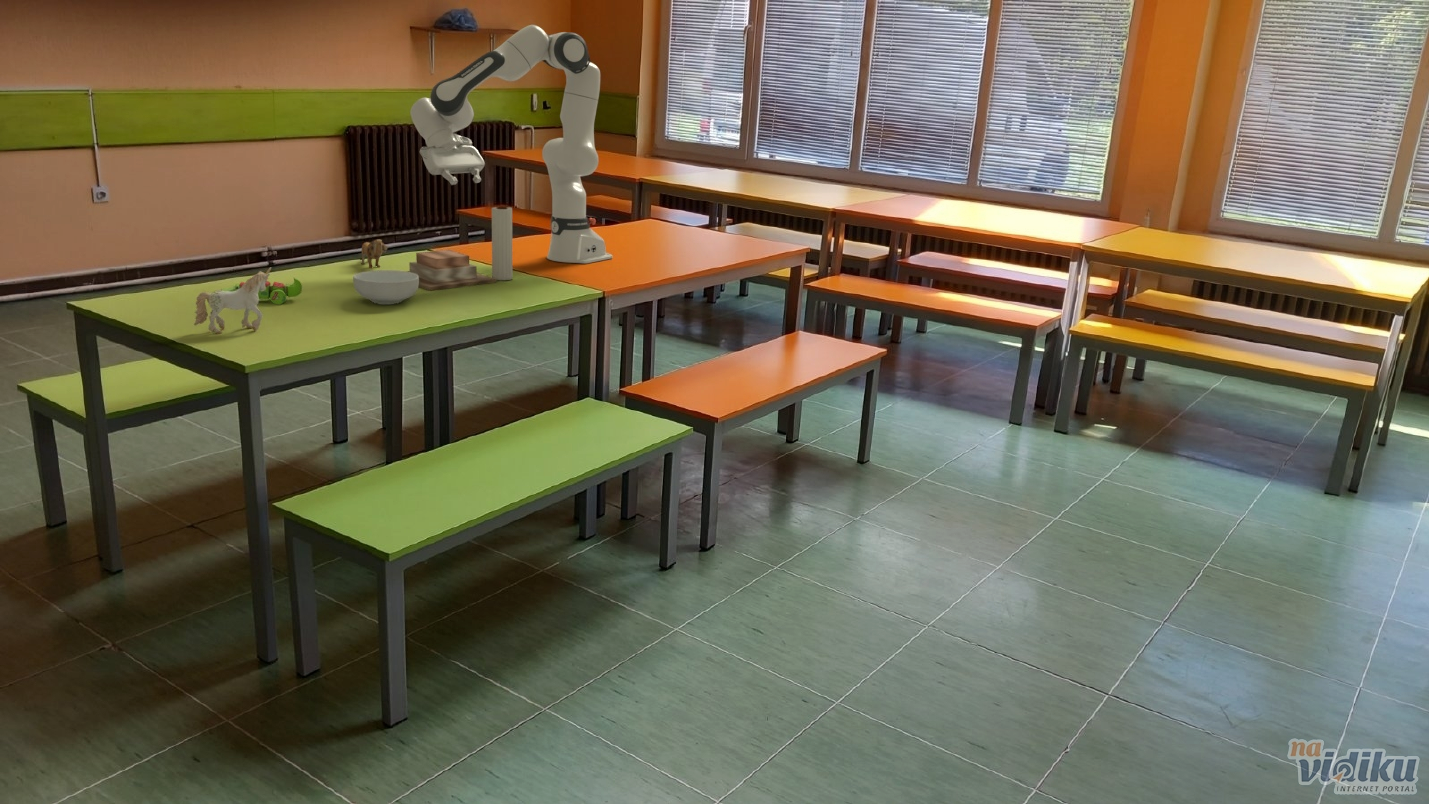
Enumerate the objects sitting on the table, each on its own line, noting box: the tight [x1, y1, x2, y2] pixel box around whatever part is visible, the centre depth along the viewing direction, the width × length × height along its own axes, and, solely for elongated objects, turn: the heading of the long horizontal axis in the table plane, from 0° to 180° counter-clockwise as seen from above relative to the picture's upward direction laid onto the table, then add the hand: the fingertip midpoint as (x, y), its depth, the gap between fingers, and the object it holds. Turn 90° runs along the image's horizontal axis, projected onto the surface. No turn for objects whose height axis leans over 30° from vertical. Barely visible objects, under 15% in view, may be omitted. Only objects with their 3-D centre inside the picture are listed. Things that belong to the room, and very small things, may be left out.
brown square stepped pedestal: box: [406, 249, 497, 291], centre depth 311 cm, size 22×22×8 cm
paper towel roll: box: [491, 206, 513, 281], centre depth 314 cm, size 7×6×21 cm
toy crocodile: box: [220, 277, 303, 305], centre depth 274 cm, size 20×7×6 cm, turn 108°
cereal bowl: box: [352, 269, 419, 305], centre depth 282 cm, size 17×17×7 cm
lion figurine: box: [359, 239, 389, 269], centre depth 323 cm, size 15×5×9 cm, turn 44°
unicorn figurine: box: [193, 267, 272, 335], centre depth 246 cm, size 7×20×13 cm, turn 137°
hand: (466, 182), depth 318 cm, fingers open, 8 cm apart
